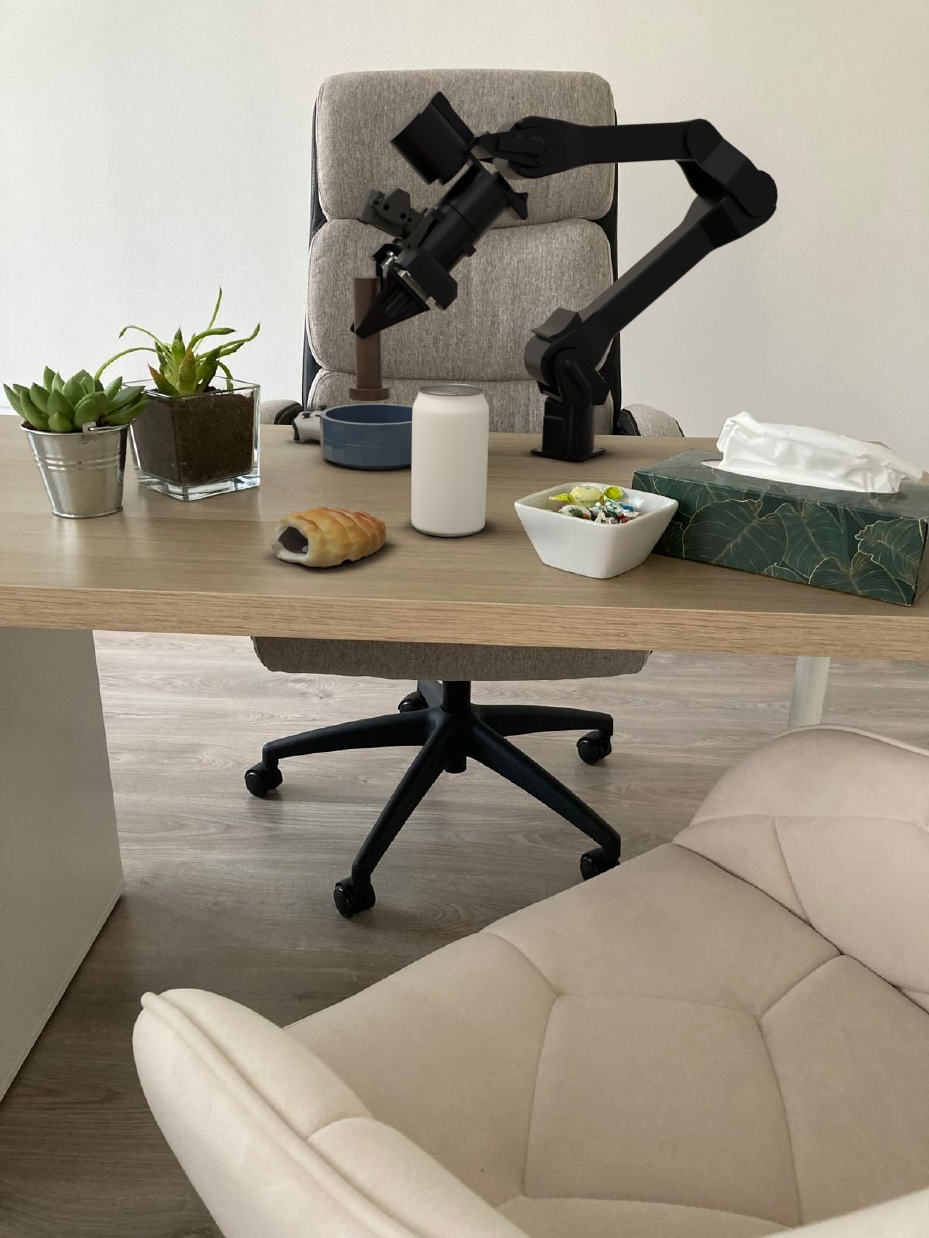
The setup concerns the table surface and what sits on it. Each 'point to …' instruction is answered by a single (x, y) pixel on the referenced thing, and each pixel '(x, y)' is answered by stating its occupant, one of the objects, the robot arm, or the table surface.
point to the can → (449, 459)
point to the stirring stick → (367, 346)
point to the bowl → (367, 435)
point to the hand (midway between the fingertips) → (355, 334)
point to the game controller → (307, 424)
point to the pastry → (327, 536)
